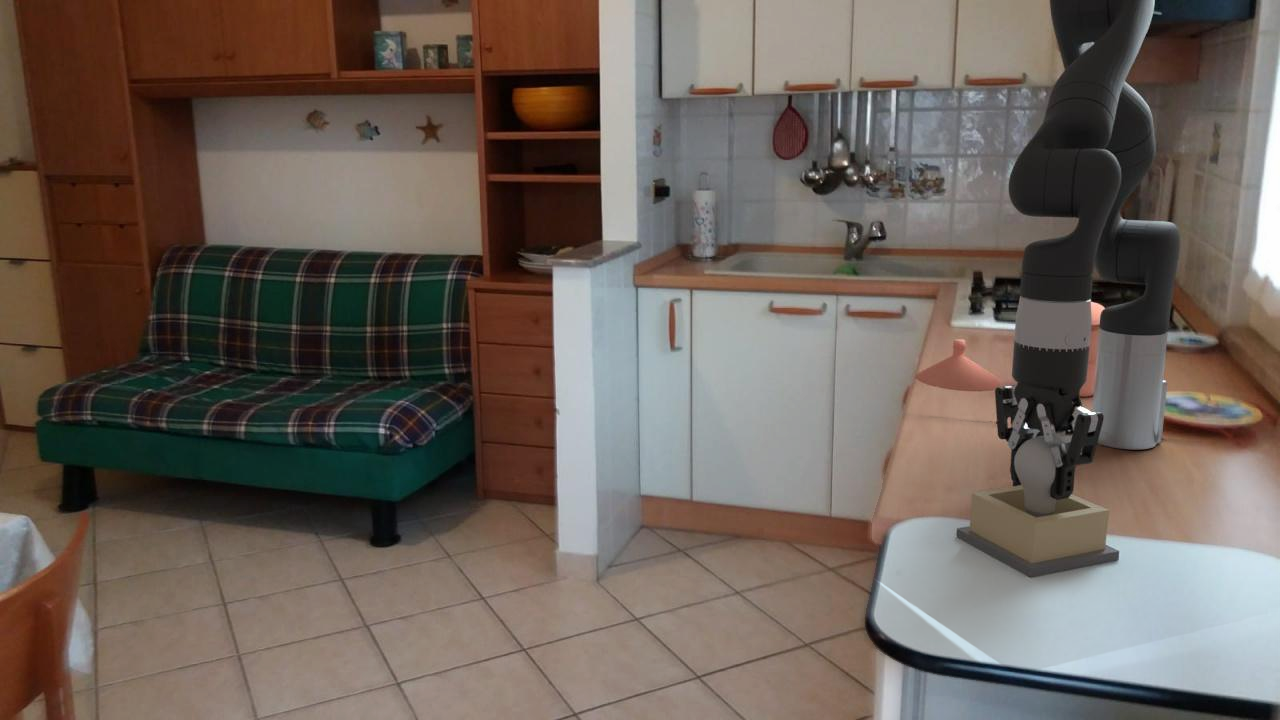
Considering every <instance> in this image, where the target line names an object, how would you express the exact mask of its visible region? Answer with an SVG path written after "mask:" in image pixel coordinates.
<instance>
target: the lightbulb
mask: <svg viewBox="0 0 1280 720" xmlns="http://www.w3.org/2000/svg"><path fill="white" fill-rule="evenodd" d="M1062 449H1063V454H1064V455H1066V454H1067V453H1066V449H1065V445H1064V444H1062ZM1014 465H1015V471H1016V473H1017V476H1018V478H1019V480H1020V482H1021V484H1022V487H1023V491H1024V497H1025V503H1024V505H1025V508H1026V513H1027V514H1030V515H1032V516H1034V517H1036V518H1037V517H1043V516H1048V515H1052V512H1053V511H1054V509H1055V504H1056V501H1057V500H1056V499H1054V498H1052V497H1051V496H1050V489H1051V485H1052V483H1053V481H1054V478H1055V472H1056V470H1055V467H1056V466H1055V465H1054V462H1053V457H1052V452H1051V448H1050V446H1048V445H1047V444H1046V442H1045V437H1044V436H1038V437H1034V438H1031V439H1029V440H1027V441H1026V442H1024V443H1023V444H1022V445H1021V446H1020V447H1019V449H1018V451H1017V453H1016V455H1015V459H1014Z"/></svg>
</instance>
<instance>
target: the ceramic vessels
mask: <svg viewBox="0 0 1280 720" xmlns="http://www.w3.org/2000/svg"><path fill="white" fill-rule="evenodd" d="M1104 309H1105V306H1103V305H1101V304H1100V303H1097V302H1093V301H1091V315H1092V323H1091V335H1090V347H1089V358H1088V369H1087V380H1086V383H1085V384H1084V385H1083V386H1082V388H1081V389H1080V397H1091V396H1092V397H1093V391H1094V380H1095V369H1096V358H1097V348H1098V347H1097V346H1098V335H1099V324H1100V315H1101V312H1102V311H1103V310H1104ZM952 342H953V343H952V348H953V349H952V355H951V356H949V357H946V358H945V359H944V360H941V361H939V362H937V363H936V364H935V363H934V364H933V365H931V366H929V367H927V368H925V369H923V370H921V371H920V372H917V373H916V374H915V379H916V380H917V381H919V382H920V383H923V384H925V385H928V386H931V387H935V388H939V389H944V390H945V389H946V390H951V391H961V392H962V391H963V392H990V391H995V390H996V388H997V387H1003V386H1006V385H1005V384H1006V383H1005V382H1004V381H1003V380H1002V379H1000V378H998V376H995V375H994V374H993V373H991V372H990V371H988V370H986V369H985V368H983V367H982V366H980V365H979V364H978V363H976V362H974V361H972V360H971V359H970V358H968V357H966V356H965V351H966V339H962V338H961V339H959V338H958V339H954V340H953V341H952Z"/></svg>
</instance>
